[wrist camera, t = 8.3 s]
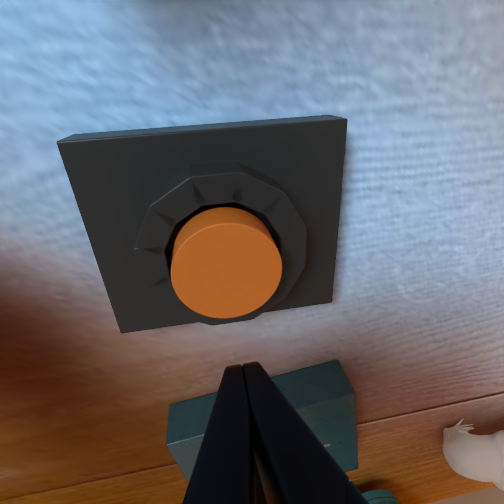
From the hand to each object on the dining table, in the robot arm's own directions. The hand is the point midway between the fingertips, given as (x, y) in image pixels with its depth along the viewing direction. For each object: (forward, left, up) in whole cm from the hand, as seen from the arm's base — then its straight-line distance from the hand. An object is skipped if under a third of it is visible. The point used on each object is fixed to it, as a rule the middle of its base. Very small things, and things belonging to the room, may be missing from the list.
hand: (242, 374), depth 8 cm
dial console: (+2, -18, -10) cm, 21 cm away
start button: (0, 0, -7) cm, 7 cm away
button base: (0, 0, -10) cm, 10 cm away
